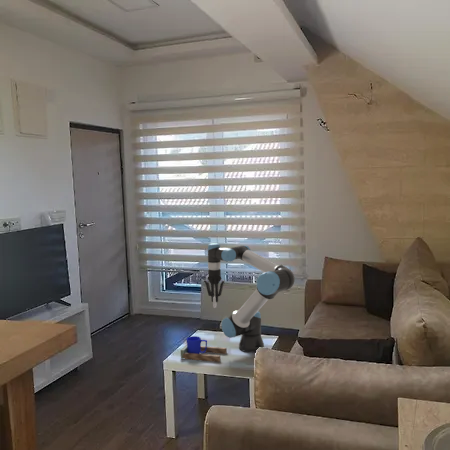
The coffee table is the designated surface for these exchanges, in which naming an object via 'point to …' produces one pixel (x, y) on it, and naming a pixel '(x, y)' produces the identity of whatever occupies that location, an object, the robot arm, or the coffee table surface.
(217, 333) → the coffee table surface
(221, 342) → the coffee table surface
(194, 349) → the mug
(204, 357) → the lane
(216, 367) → the coffee table surface
